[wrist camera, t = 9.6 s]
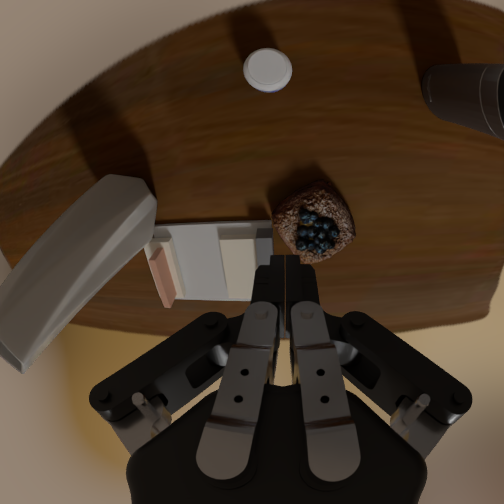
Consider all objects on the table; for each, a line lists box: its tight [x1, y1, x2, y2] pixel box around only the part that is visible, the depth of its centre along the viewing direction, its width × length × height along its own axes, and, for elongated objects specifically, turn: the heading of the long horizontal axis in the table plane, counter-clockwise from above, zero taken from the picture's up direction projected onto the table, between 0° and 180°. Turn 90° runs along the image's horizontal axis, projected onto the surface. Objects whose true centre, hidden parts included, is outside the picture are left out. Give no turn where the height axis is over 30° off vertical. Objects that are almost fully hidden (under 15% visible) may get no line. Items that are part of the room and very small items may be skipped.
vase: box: [0, 174, 157, 374], centre depth 29 cm, size 12×12×33 cm
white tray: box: [153, 220, 274, 301], centre depth 46 cm, size 20×16×4 cm
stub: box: [144, 237, 186, 308], centre depth 46 cm, size 5×12×5 cm, turn 4°
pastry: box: [272, 180, 356, 264], centre depth 39 cm, size 11×12×6 cm
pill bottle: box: [243, 48, 292, 93], centre depth 27 cm, size 5×5×10 cm
